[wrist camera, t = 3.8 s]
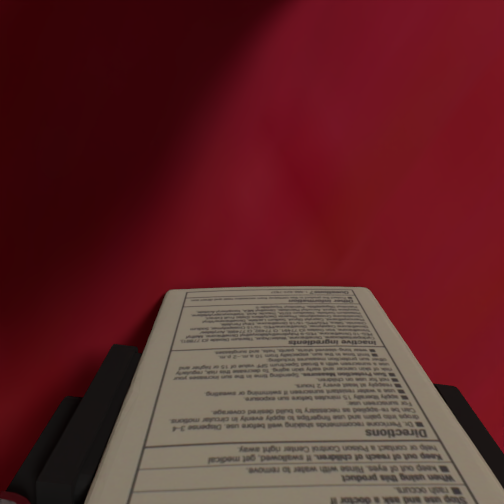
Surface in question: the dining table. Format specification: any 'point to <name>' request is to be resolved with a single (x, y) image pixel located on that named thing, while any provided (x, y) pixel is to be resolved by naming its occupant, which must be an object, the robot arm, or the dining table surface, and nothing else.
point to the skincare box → (285, 408)
